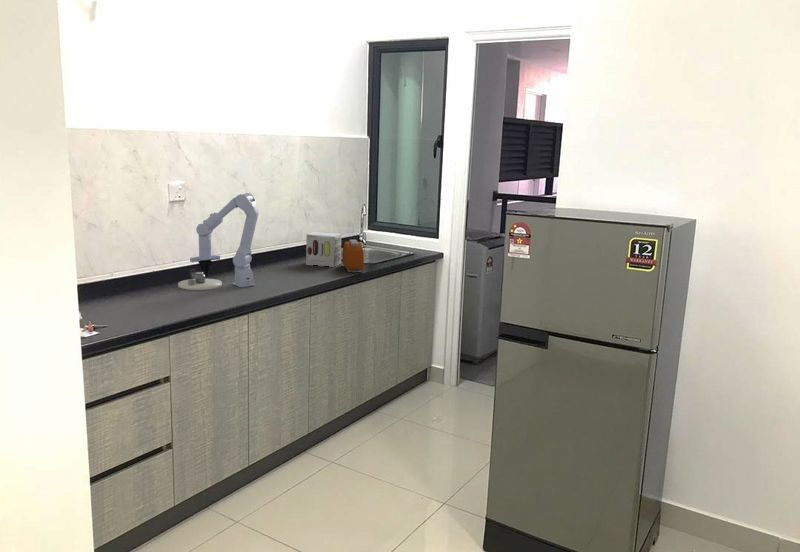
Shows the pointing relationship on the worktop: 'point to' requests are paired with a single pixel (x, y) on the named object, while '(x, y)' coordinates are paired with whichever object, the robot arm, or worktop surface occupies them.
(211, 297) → the worktop surface
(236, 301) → the worktop surface
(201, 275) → the latch lever
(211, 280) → the base
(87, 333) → the worktop surface
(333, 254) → the supplement box
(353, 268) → the orange plastic container
